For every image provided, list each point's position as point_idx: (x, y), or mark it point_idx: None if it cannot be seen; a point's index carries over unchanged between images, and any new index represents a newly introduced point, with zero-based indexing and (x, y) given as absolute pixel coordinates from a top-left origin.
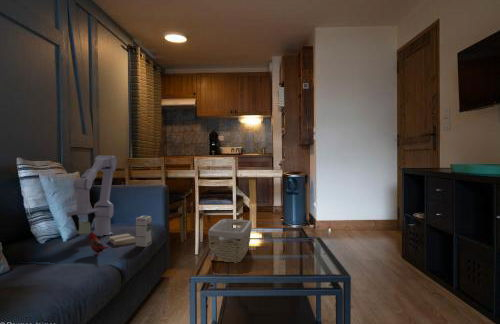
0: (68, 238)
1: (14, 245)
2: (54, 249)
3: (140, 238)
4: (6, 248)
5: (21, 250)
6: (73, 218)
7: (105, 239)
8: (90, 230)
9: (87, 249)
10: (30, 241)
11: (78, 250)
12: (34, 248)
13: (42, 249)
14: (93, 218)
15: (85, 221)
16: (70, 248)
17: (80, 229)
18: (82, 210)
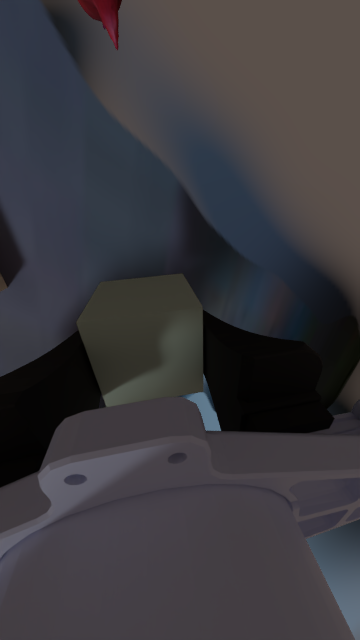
0: (185, 398)
1: (328, 387)
2: (264, 291)
3: None
4: (353, 370)
5: (340, 334)
6: (316, 354)
7: (33, 331)
8: (96, 288)
9: (136, 196)
10: None
11: (183, 209)
12: (306, 337)
13: (294, 314)
14: (8, 375)
15: (126, 395)
16: (208, 269)
17: (182, 286)
18: (232, 574)
